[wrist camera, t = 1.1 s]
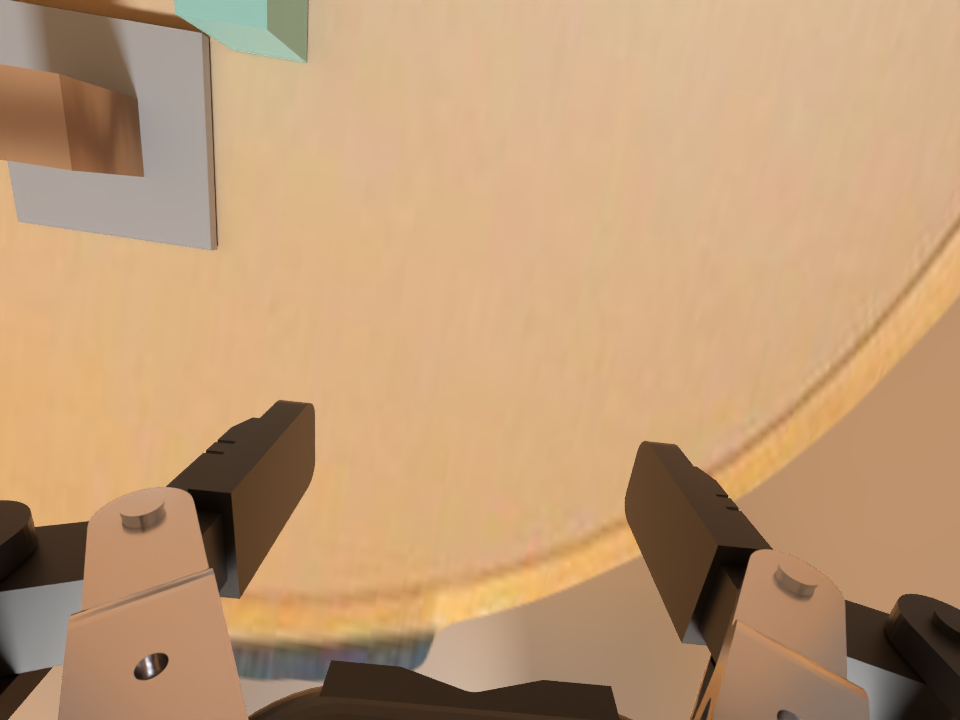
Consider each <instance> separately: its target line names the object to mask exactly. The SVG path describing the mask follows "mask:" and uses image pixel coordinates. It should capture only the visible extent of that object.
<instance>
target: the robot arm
mask: <svg viewBox="0 0 960 720" xmlns="http://www.w3.org/2000/svg"><path fill="white" fill-rule="evenodd" d="M314 466H315V411H314V407H313V405H312V404H311V403H302V402H293V401H284V400H279V401H277V402H276V403H275V404H274V405H273V406H272V407H271V408H270V409H269V410H268V411H267V412H266V413H265V414H264V415H263V416H262V417H261V418H251V419H249V420H246V421H244V422H242V423H240V424H238V425H236V426H233V427H232V428H230V429H229V430H228V431H227V432H226V433H225V434H224V435H223V436H222V437H220V438H219V439H218V442H215V443H214V444H213V445H212V446H210V447H209V448H208V449H207V450H206V453H203V454H202V455H200V456H199V457H198V458H197V459H196V460H195V461H194V462H193V463H192V464H190V465H189V466H188V467H187V468H186V469H185V470H184V471H183V472H182V473H180V474H179V475H178V476H177V477H176V478H175V479H174V480H173V481H172V482H171V483H169V484H168V485H167V486H166V487H157V488H149V489H143V490H139V491H136V492H132V493H129V494H126V495H124V496H121V497H119V498H117V499H115V500H113V501H111V502H109V503H108V504H106V505H105V506H103V507H102V508H101V509H99V510H98V511H97V512H96V513H95V514H94V515H93V516H92V518H91V519H90V521H87V522H78V523H69V524H60V525H51V526H41V527H35V526H34V522H33V519H32V515H31V511H30V508H29V507H28V506H27V505H25V504H23V503H20V502H17V501H7V500H0V720H8V719H9V718H10V716H11V715H12V714H13V713H14V712H15V711H16V710H17V708H18V707H19V706H20V705H21V704H22V703H23V701H24V700H25V699H26V698H27V697H28V695H29V694H30V693H31V692H32V691H33V689H35V687H36V686H37V685H38V684H39V683H40V681H41V680H42V679H43V678H44V677H45V676H46V674H47V673H48V672H49V671H50V670H51V669H52V667H54V666H59V665H63V675H62V685H61V695H60V706H59V714H58V720H631V719H629V718H627V717H625V716H622V715H620V714H618V712H617V708H616V704H615V700H614V696H613V692H612V688H611V686H602V685H592V684H591V685H590V684H581V683H580V684H579V683H569V682H558V681H548V680H541V681H536V682H530V683H525V684H519V685H514V686H509V687H503V688H498V689H493V690H487V691H482V692H468V691H464V690H462V689H459V688H456V687H454V686H451V685H448V684H445V683H443V682H440V681H437V680H435V679H432V678H429V677H427V676H424V675H422V674H419V673H416V672H414V671H411V670H408V669H405V668H403V667H397V666H386V665H376V664H365V663H354V662H343V661H332V660H331V663H330V666H329V669H328V672H327V675H326V678H325V681H324V684H323V686H321V687H316V688H311V689H307V690H304V691H301V692H298V693H294V694H291V695H289V696H287V697H284V698H282V699H280V700H277V701H275V702H273V703H271V704H269V705H267V706H266V707H264V708H262V709H260V710H258V711H256V712H255V713H253V714H252V715H250V716H249V717H248V715H247V711H246V706H245V702H244V698H243V694H242V689H241V685H240V681H239V677H238V672H237V668H236V664H235V660H234V655H233V651H232V647H231V643H230V638H229V634H228V630H227V626H226V621H225V617H224V613H223V609H222V604H221V600H220V597H227V598H238V599H240V597H241V596H242V594H243V593H244V591H245V589H246V588H247V586H248V584H249V583H250V581H251V579H252V578H253V576H254V575H255V573H256V571H257V570H258V568H259V566H260V565H261V563H262V562H263V560H264V558H265V557H266V555H267V553H268V552H269V550H270V548H271V547H272V545H273V544H274V542H275V540H276V539H277V537H278V535H279V534H280V532H281V531H282V529H283V527H284V526H285V524H286V522H287V521H288V519H289V517H290V516H291V514H292V513H293V511H294V509H295V508H296V506H297V504H298V503H299V501H300V500H301V498H302V496H303V495H304V493H305V491H306V490H307V488H308V486H309V484H310V482H311V479H312V476H313V472H314ZM625 514H626V518H627V521H628V524H629V526H630V528H631V530H632V533H633V535H634V537H635V539H636V542H637V544H638V546H639V548H640V551H641V553H642V555H643V557H644V559H645V562H646V564H647V566H648V568H649V571H650V573H651V575H652V577H653V579H654V582H655V584H656V586H657V589H658V591H659V593H660V595H661V598H662V600H663V602H664V604H665V607H666V609H667V611H668V613H669V615H670V618H671V620H672V622H673V624H674V627H675V629H676V631H677V633H678V636H679V638H680V640H681V642H682V643H687V644H697V645H707V646H708V649H709V651H710V652H711V655H710V657H709V660H708V662H707V665H706V667H705V670H704V674H703V677H702V680H701V683H700V687H699V690H698V693H697V697H696V700H695V703H694V706H693V710H692V713H691V716H690V720H960V610H959V609H957V608H955V607H953V606H951V605H948V604H946V603H944V602H942V601H939V600H936V599H934V598H930V597H927V596H923V595H918V594H905V595H902V596H901V597H900V598H899V599H898V601H897V602H896V604H895V606H894V608H893V609H892V611H891V613H890V614H887V613H884V612H881V611H878V610H875V609H872V608H869V607H866V606H863V605H860V604H857V603H853V602H850V601H847V600H844V597H843V595H842V593H841V591H840V590H839V588H838V587H837V586H836V585H835V584H834V582H833V581H832V580H830V579H829V578H828V577H827V576H826V575H825V574H824V573H822V572H821V571H820V570H818V569H817V568H815V567H814V566H812V565H811V564H809V563H807V562H805V561H804V560H801V559H800V558H798V557H795V556H793V555H790V554H787V553H784V552H781V551H776V550H773V549H772V548H771V547H770V545H769V544H768V543H767V542H766V541H765V539H764V538H763V537H762V536H761V535H760V533H759V532H758V531H757V530H756V528H755V527H754V526H753V525H752V524H751V523H750V521H749V520H748V519H747V518H746V516H745V515H744V514H743V513H742V512H741V511H739V510H738V507H737V506H736V504H735V503H734V502H733V501H732V499H731V498H728V495H727V493H726V492H725V491H724V490H723V489H722V487H721V486H720V485H719V484H718V482H717V481H716V480H714V479H713V478H712V477H710V476H709V475H707V474H706V473H705V472H703V471H702V470H701V469H699V468H698V467H694V466H693V465H692V464H691V462H690V461H689V460H688V459H687V457H686V456H685V455H684V453H683V452H682V451H681V450H680V448H679V447H678V446H677V445H675V444H667V443H658V442H649V441H644V442H642V443H641V445H640V446H639V448H638V452H637V455H636V459H635V463H634V466H633V470H632V474H631V477H630V481H629V485H628V488H627V492H626V497H625Z"/></svg>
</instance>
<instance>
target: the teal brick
mask: <svg viewBox="0 0 960 720" xmlns="http://www.w3.org/2000/svg"><path fill="white" fill-rule="evenodd" d="M174 3H175V14H176V15H178V16H179V17H181V18H182V19H184V20H186V21H187V22H189V23H190V24H192V25H193V26H195V27H197V28H198V29H200V30H201V31H203V32H204V33H206V34H208V35H209V36H211V37H212V38H214V39H215V40H217V41H219V42H220V43H222V44H223V45H225V46H226V47H228V48H230V49H231V50H234V51H240V52H246V53H252V54H258V55H263V56H269V57H275V58H281V59H287V60H293V61H299V62H305V63H307V24H308V0H174Z"/></svg>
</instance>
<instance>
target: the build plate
mask: <svg viewBox="0 0 960 720" xmlns="http://www.w3.org/2000/svg"><path fill="white" fill-rule="evenodd" d="M0 64H2V65H8V66H14V67H20V68H27V69H33V70H39V71H45V72H51V73H57V74H61V75H64V76H67V77H71V78H74V79H77V80H80V81H83V82H86V83H90V84H93V85H96V86H99V87H102V88H105V89H108V90H112V91H115V92H118V93H121V94H124V95H127V96H131V97H134V98H137V99H138V109H139V121H140V133H141V144H142V156H143V168H144V177H137V176H126V175H115V174H104V173H93V172H82V171H71V170H65V169H58V168H52V167H46V166H39V165H33V164H26V163H20V162H13V161H8V167H9V172H10V178H11V184H12V190H13V195H14V201H15V207H16V212H17V218H18V222H24V223H30V224H37V225H44V226H50V227H57V228H64V229H71V230H77V231H84V232H91V233H97V234H104V235H111V236H118V237H124V238H131V239H138V240H145V241H151V242H158V243H165V244H171V245H178V246H185V247H192V248H198V249H205V250H217V239H216V213H215V188H214V162H213V137H212V111H211V86H210V60H209V37H207V36H206V35H204V34H203V33H199V32H194V31H188V30H182V29H176V28H170V27H164V26H158V25H152V24H147V23H141V22H135V21H129V20H123V19H117V18H111V17H106V16H100V15H94V14H88V13H82V12H76V11H70V10H65V9H59V8H53V7H47V6H41V5H35V4H29V3H24V2H18V1H12V0H0Z"/></svg>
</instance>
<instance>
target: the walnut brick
mask: <svg viewBox="0 0 960 720" xmlns="http://www.w3.org/2000/svg"><path fill="white" fill-rule="evenodd" d="M0 160H7V161H13V162H20V163H26V164H33V165H39V166H46V167H52V168H58V169H65V170H71V171H82V172H93V173H104V174H115V175H126V176H137V177H144V168H143V156H142V144H141V133H140V121H139V109H138V99H137V98H134V97H131V96H127V95H124V94H121V93H118V92H115V91H112V90H108V89H105V88H102V87H99V86H96V85H93V84H90V83H86V82H83V81H80V80H77V79H74V78H71V77H67V76H64V75H61V74H57V73H51V72H45V71H39V70H33V69H27V68H20V67H14V66H8V65H2V64H0Z"/></svg>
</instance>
